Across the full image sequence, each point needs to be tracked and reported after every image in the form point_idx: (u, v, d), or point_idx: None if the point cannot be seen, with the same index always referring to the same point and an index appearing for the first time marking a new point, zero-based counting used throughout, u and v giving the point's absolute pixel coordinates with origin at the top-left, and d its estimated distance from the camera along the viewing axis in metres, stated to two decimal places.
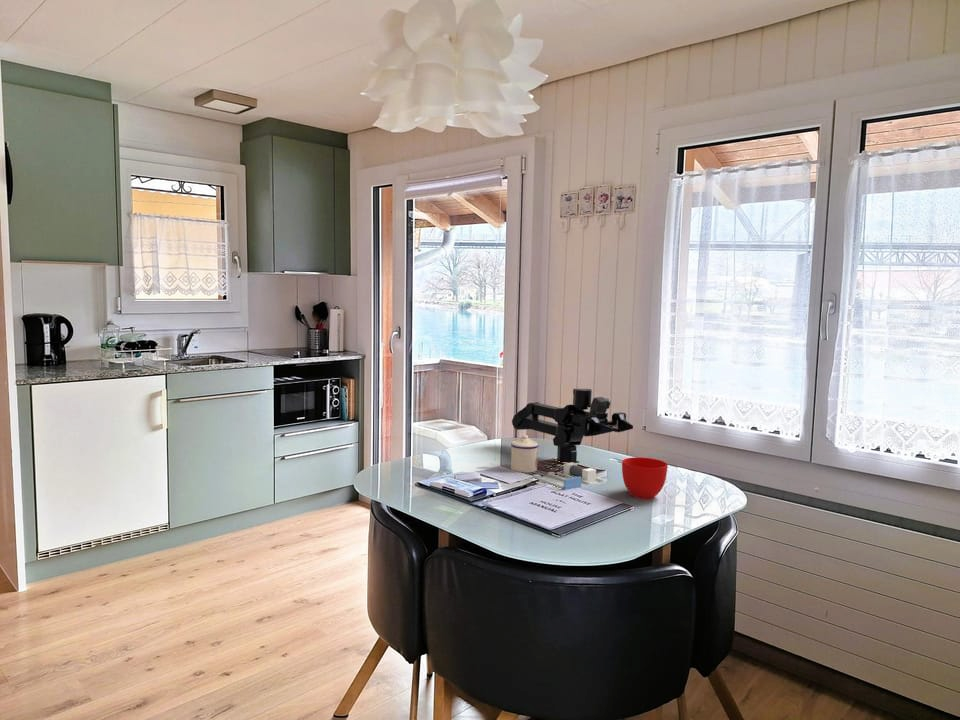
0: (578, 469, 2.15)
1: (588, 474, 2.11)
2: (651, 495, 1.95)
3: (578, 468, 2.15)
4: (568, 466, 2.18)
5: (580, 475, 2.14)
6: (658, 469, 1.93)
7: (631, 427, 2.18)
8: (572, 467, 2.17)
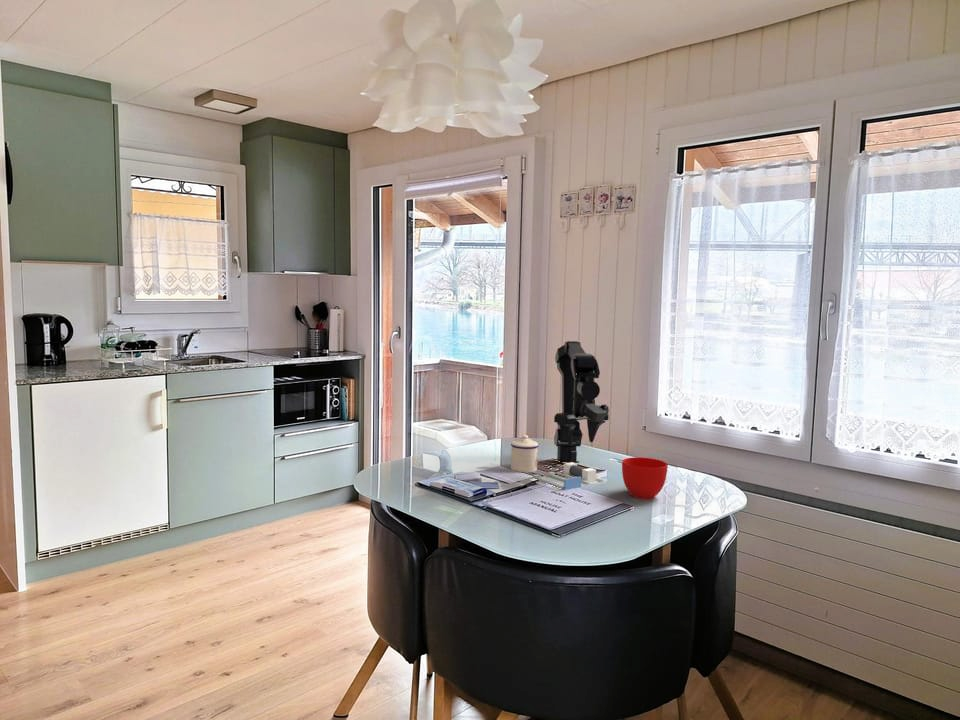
0: (578, 469, 2.15)
1: (588, 474, 2.11)
2: (651, 495, 1.95)
3: (578, 468, 2.15)
4: (568, 466, 2.18)
5: (580, 475, 2.14)
6: (658, 469, 1.93)
7: (590, 440, 2.18)
8: (572, 467, 2.17)
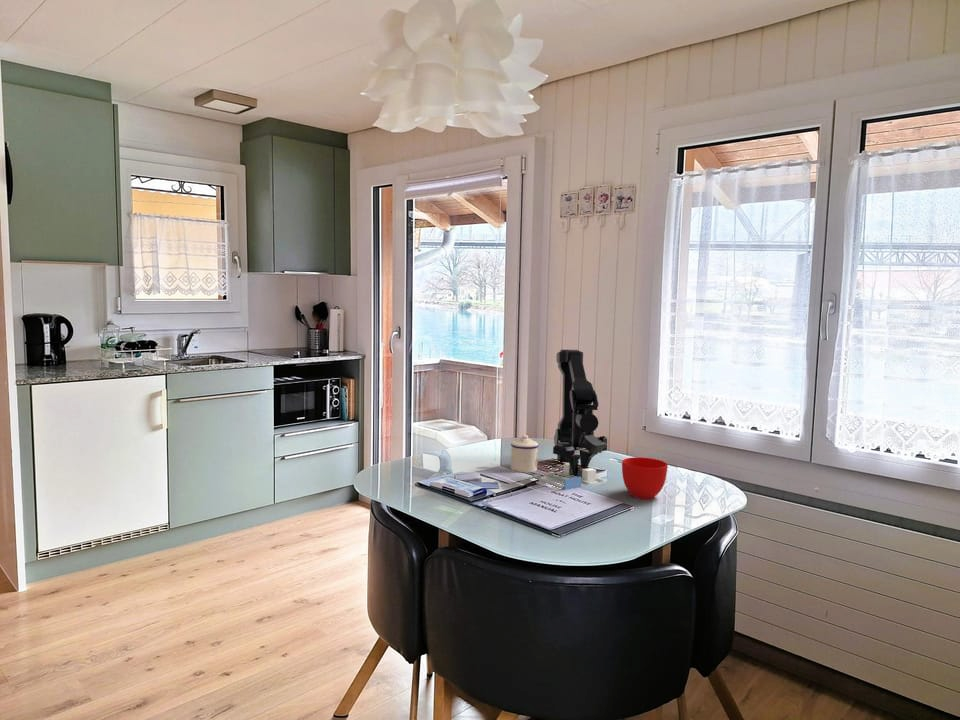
0: (578, 469, 2.15)
1: (588, 474, 2.11)
2: (651, 495, 1.95)
3: (578, 468, 2.15)
4: (568, 466, 2.18)
5: (580, 475, 2.14)
6: (658, 469, 1.93)
7: None
8: None
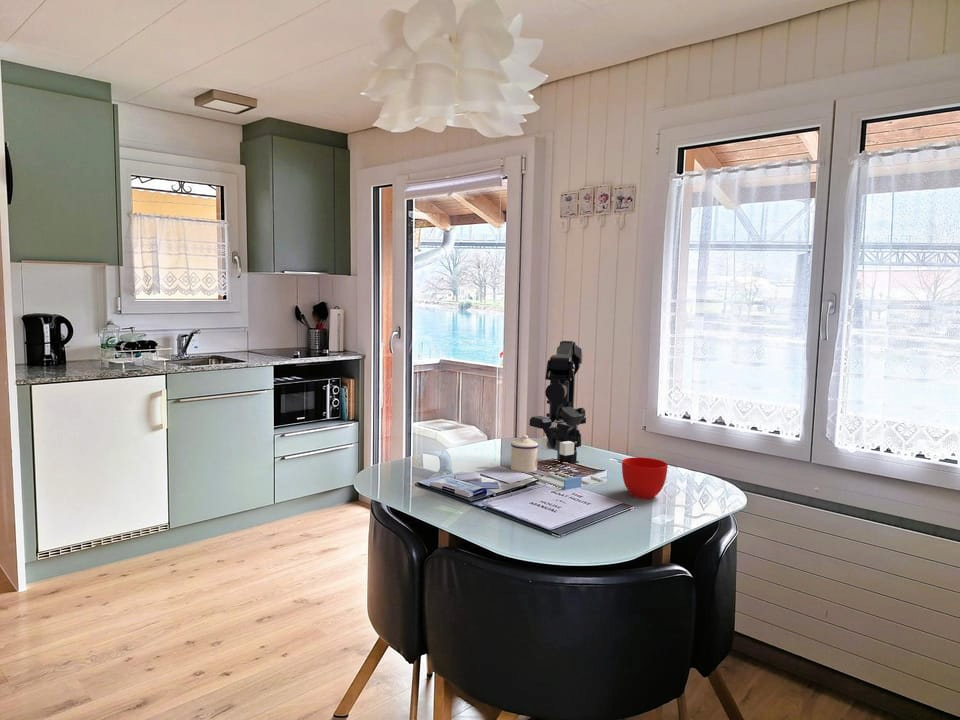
0: (556, 442, 2.08)
1: (566, 447, 2.04)
2: (651, 495, 1.95)
3: (556, 441, 2.08)
4: (546, 439, 2.11)
5: (558, 448, 2.07)
6: (658, 469, 1.93)
7: None
8: None
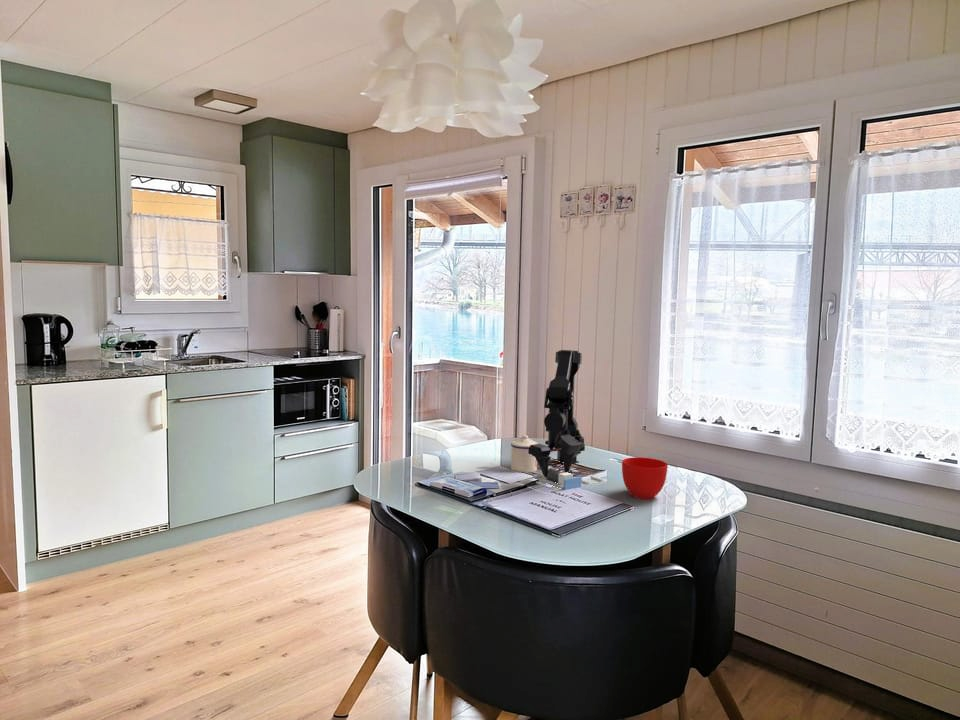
0: (555, 473, 2.09)
1: (564, 478, 2.05)
2: (651, 495, 1.95)
3: (555, 472, 2.09)
4: None
5: (556, 479, 2.08)
6: (658, 469, 1.93)
7: None
8: (549, 471, 2.11)
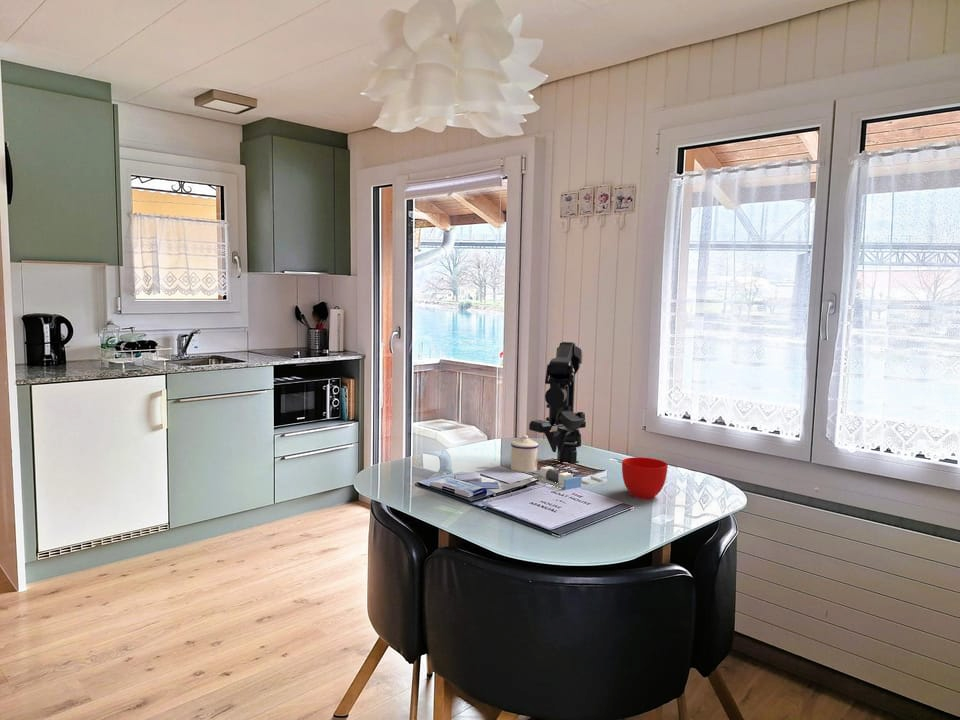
0: (555, 473, 2.09)
1: (564, 478, 2.05)
2: (651, 495, 1.95)
3: (555, 472, 2.09)
4: (545, 470, 2.12)
5: (556, 479, 2.08)
6: (658, 469, 1.93)
7: (558, 450, 2.10)
8: (549, 471, 2.11)
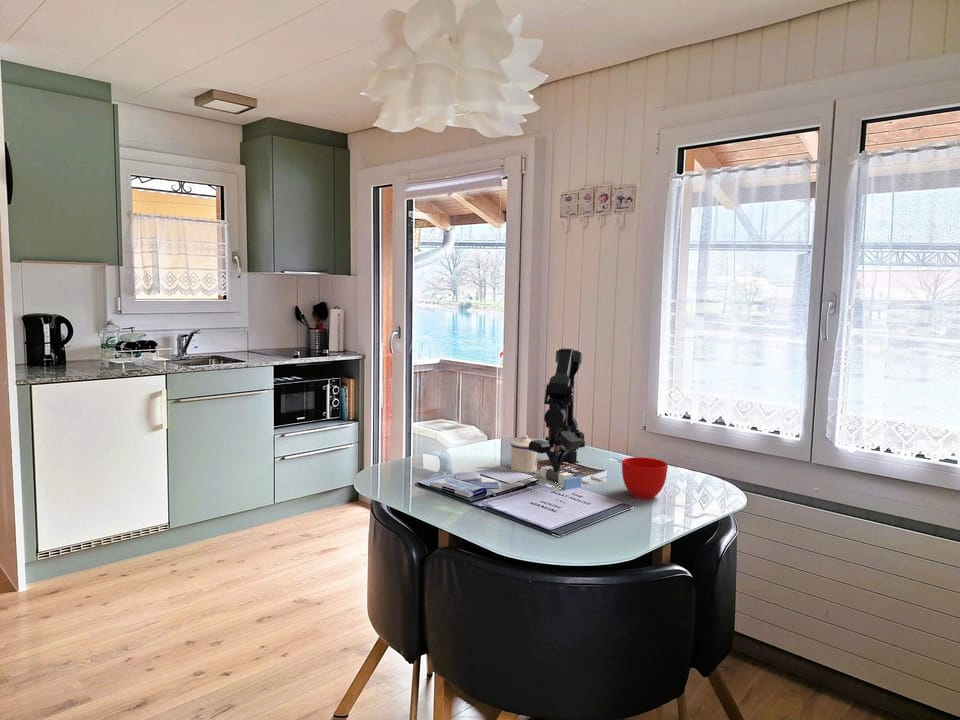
0: (555, 473, 2.09)
1: (564, 478, 2.05)
2: (651, 495, 1.95)
3: (555, 472, 2.09)
4: (545, 470, 2.12)
5: (556, 479, 2.08)
6: (658, 469, 1.93)
7: None
8: (549, 471, 2.11)
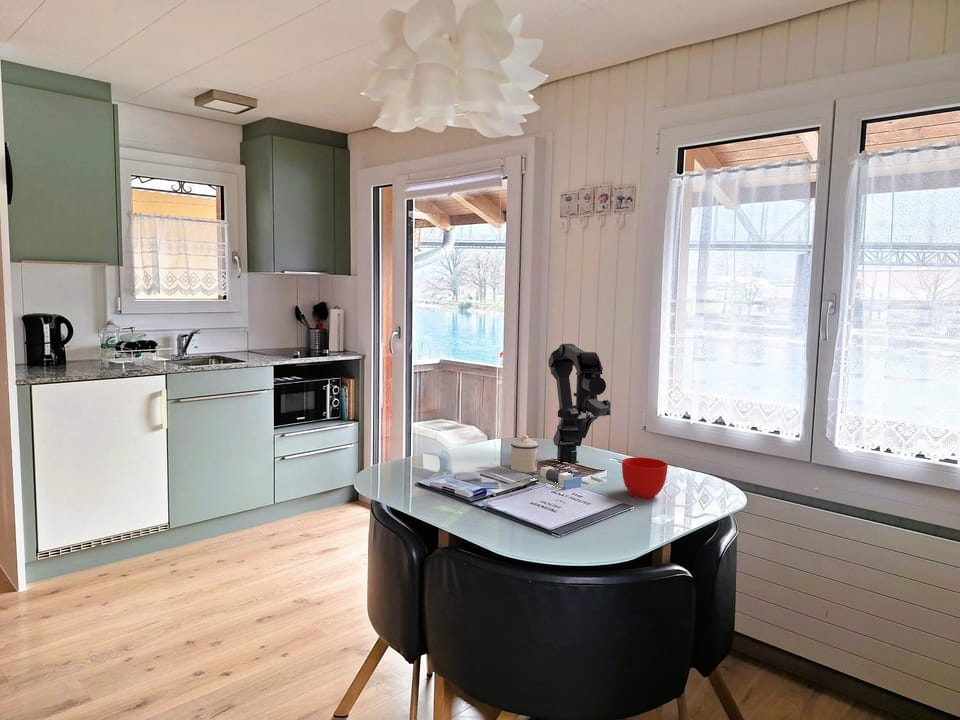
0: (555, 473, 2.09)
1: (564, 478, 2.05)
2: (651, 495, 1.95)
3: (555, 472, 2.09)
4: (545, 470, 2.12)
5: (556, 479, 2.08)
6: (658, 469, 1.93)
7: None
8: (549, 471, 2.11)
